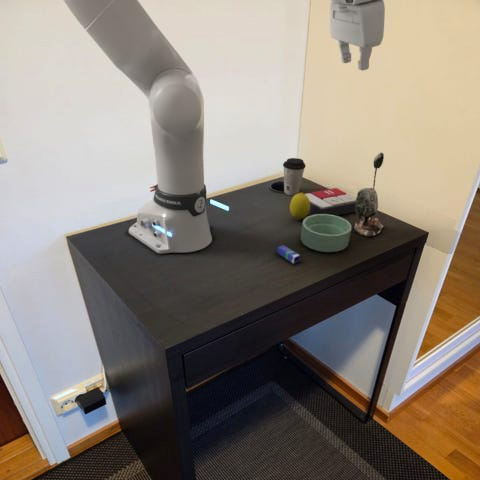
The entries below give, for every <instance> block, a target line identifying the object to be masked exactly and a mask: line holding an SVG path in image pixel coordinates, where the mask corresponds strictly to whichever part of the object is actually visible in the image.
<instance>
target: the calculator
mask: <svg viewBox="0 0 480 480" xmlns="http://www.w3.org/2000/svg"><path fill="white" fill-rule="evenodd" d="M304 194H305V195H306V196H307V197H308V198H309V201H310V210H309V213H308V214H307V215H309V216H312V215H316V214H328V215H335V216H338V217H339V216H342V215H346V214H347V215H348V214H351V213H356V211H355V203H356V198H357V197H355V196H353V195H351V194H349V193H347V192H345V191H344V190H341V189H339V188H337V187H333V188H329V189H323V190H322V189H321V190H317V191H311V193H310V192H308V193H304Z"/></svg>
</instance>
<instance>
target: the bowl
mask: <svg viewBox="0 0 480 480" xmlns="http://www.w3.org/2000/svg"><path fill="white" fill-rule="evenodd" d="M352 228H353V227H352V224H351V223H350V221H348V220H347V219H346V218H344V217H341V216H339V215H338V216H335V215H328V214H316V215H312V216H310V215H309V216H308V215H307V216H306V217H304V218H303V221H302V225H301V231H300V232H301V233H300V241H301V243H302V245H304V246H306V247H307V248H309V249H311V250H314V251H317V252H324V253H336V252H339V251H343V250H345V249H346V248H347V247H348V246H349V242H350V238H351V232H352Z"/></svg>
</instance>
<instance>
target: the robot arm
mask: <svg viewBox="0 0 480 480" xmlns="http://www.w3.org/2000/svg"><path fill="white" fill-rule="evenodd" d="M63 2H64V3H65V5H66V6H67V8H68V9H69V11H70V12H71V13H72V15H73V16H74V18H75V19H76V21H78V23H79V24H80V25H81V26H82V28H83V29H84V30H85V31H86V33H87V34H88V36H90V37H91V38H92V40H93V41H94V42H95V44H96V45H97V46H98V47H99V48H100V49H101V51H102V52H103V53H104V54H105V55H106V57H107V58H108V59H109V60H110V61H111V62H112V64H113V65H114V66H115V68H116V69H118V70H119V71H120V72H122V74H124V76H126V77H127V78H128V79H129V80H130V81H131V82H132V83H133V84H134V85H135V86H136V87H137V88H138V90H139V91H140V92H141V93H143V95H144V96H145V97H146V98H147V100H148V108H149V118H150V127H151V133H152V135H151V137H152V143H153V150H154V160H155V161H154V162H155V172H156V181H157V183H156V184H155V185H152V186H150V187H149V189H150V190H149V192H150V193H152V192H154V194H153V198H151V199H150V200H149V201H148V202H147V203H146V202H145V204H143V205H142V206H141V207H140V208H139V209H138V211H137V213H136V222H135V223H133V224H132V225H131V226H130V227H129V228H128V234H129V235H130V236H132V237H134V238H135V239H137V241H140V242H141V243H142V244H144V245H145V246H147V247H148V248H149V249H151V250H152V251H154V252H156V254H170V253H192V252H197V251H200V250H203V249H205V248H207V247H208V246H209V245H210V244H211V243H212V241H213V236H212V232H211V228H210V224H209V219H208V212H207V185H206V184H205V165H204V163H205V162H204V161H205V159H204V148H205V147H204V145H205V99H204V95H203V93H202V89H201V87H200V84H199V80H198V79H197V77H196V75H195V74H194V72H193V71H192V70H191V69H190V67H189V66H188V65H187V63H186V61H185V60H184V59H183V58H182V56H181V55H180V54H179V52H178V51H177V50H176V49H175V48H174V46H173V45H172V43H170V41H169V40H168V39H167V37H166V36H165V35H164V34H163V32H162V31H161V29H160V28H159V27H158V26H157V24H156V23H155V22H154V20H153V19H152V17H151V16H150V15H149V13H148V12H147V11H146V9H145V8H144V7H143V6H142V4H141V3H140V2H139V0H63ZM385 12H386V7H385V2H384V0H330V3H329V34H330V37H331V39H334V40H337V41H338V42H337V43H338V48H339V53H340V55H341V57H340V58H341V62H342V64H349V63H351V62H352V52H351V51H350V49H351V48H350V45H353V46H356V47H358V48H359V53H360V54H359V60H357V68H358V70H360V71H367V70H369V68H370V60H371V59H370V58H371V55H372V52H373V48H375V47H378V46H381V44H382V42H383V39H384V34H385V15H386V13H385ZM210 204H211V205H213V206H216V207H218V208H221V209H223V210H225V211H227V212H228V211H229V210H230V206H227V205H226V204H223V203H220V202H218V201H217V200H213V199H210Z"/></svg>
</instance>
